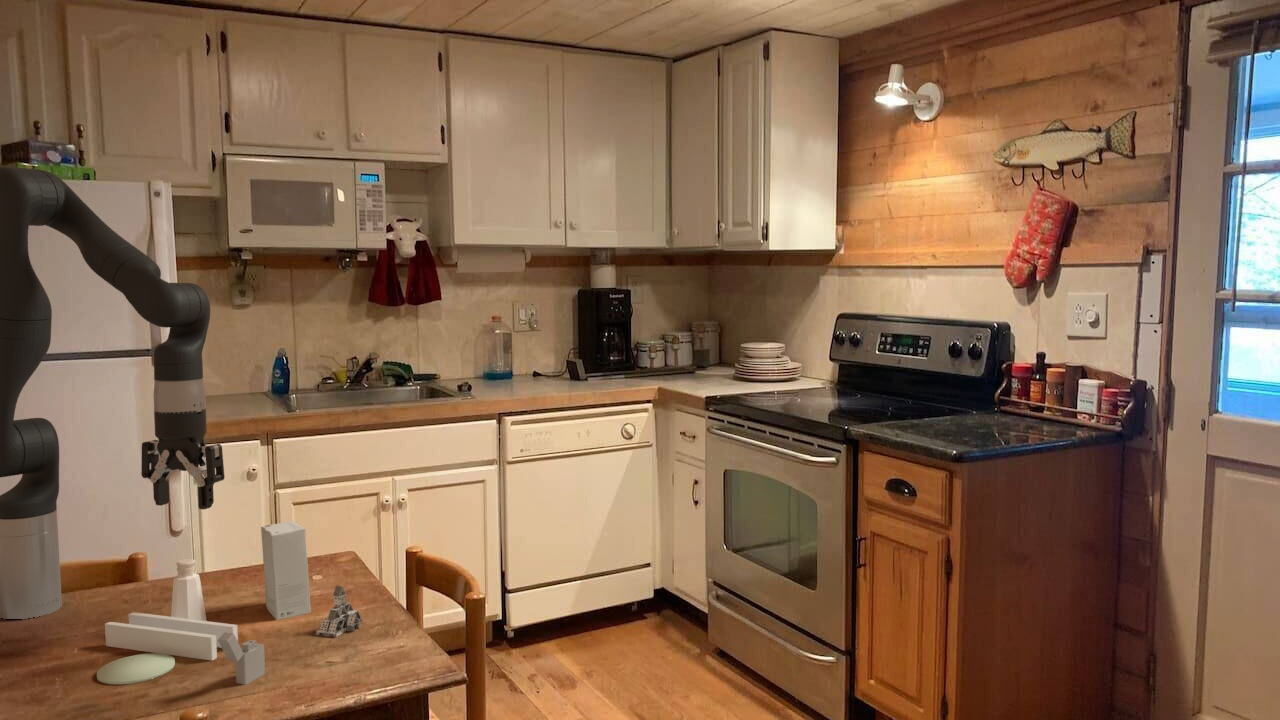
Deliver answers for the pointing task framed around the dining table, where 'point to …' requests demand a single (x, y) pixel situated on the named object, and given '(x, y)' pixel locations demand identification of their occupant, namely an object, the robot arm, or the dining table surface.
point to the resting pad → (135, 669)
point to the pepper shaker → (187, 592)
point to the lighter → (244, 657)
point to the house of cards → (339, 616)
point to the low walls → (168, 635)
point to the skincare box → (285, 570)
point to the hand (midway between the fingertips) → (183, 506)
